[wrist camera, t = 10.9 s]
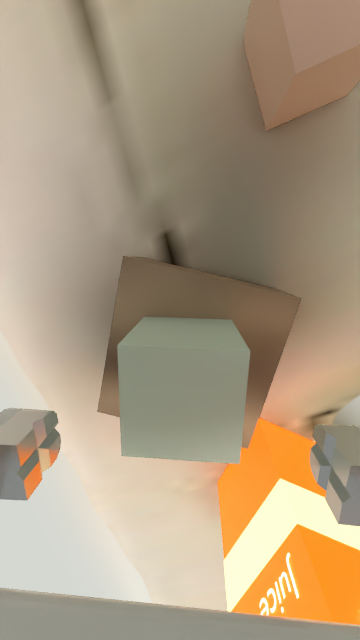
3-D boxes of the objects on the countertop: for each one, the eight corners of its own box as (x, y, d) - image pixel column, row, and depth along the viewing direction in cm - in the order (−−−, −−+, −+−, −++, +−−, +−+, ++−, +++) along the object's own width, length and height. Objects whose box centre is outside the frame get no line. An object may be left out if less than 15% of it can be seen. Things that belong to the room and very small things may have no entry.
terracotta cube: (242, 42, 15) (263, -64, 10) (327, -1, 14) (396, -138, 9) (265, 131, 16) (295, 74, 11) (346, 95, 15) (417, 17, 10)
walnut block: (142, 257, 18) (123, 256, 14) (274, 288, 18) (301, 298, 13) (120, 376, 21) (97, 411, 16) (236, 404, 21) (248, 448, 16)
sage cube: (144, 316, 14) (117, 345, 9) (231, 319, 14) (250, 351, 9) (145, 394, 15) (121, 455, 11) (226, 398, 15) (239, 464, 10)
